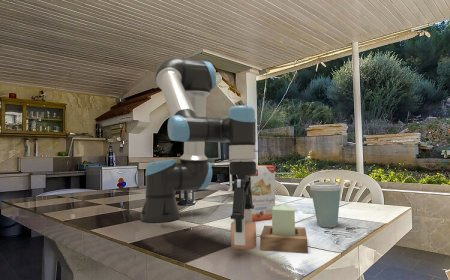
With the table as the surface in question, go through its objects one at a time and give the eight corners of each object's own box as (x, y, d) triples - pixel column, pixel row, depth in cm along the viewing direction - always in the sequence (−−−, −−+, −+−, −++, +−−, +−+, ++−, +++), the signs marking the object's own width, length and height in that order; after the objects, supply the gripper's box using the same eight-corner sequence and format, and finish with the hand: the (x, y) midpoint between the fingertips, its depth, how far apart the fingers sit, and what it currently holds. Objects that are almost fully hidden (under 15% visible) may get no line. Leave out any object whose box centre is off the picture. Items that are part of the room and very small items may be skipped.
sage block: (272, 239, 78) (272, 209, 79) (273, 233, 84) (273, 206, 84) (295, 240, 77) (294, 210, 77) (294, 234, 83) (294, 206, 83)
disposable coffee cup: (339, 230, 94) (337, 184, 95) (306, 226, 100) (305, 183, 101) (345, 224, 103) (344, 182, 104) (315, 220, 109) (314, 180, 110)
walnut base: (260, 249, 76) (260, 236, 76) (264, 237, 87) (264, 225, 88) (307, 253, 73) (307, 239, 73) (305, 239, 85) (305, 227, 85)
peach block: (228, 248, 77) (228, 226, 77) (233, 241, 84) (233, 220, 84) (254, 250, 76) (254, 227, 76) (257, 242, 82) (257, 221, 83)
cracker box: (246, 223, 106) (245, 166, 107) (237, 219, 111) (237, 165, 112) (276, 218, 112) (275, 165, 113) (267, 216, 118) (266, 165, 119)
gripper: (249, 161, 68) (251, 252, 67) (260, 160, 92) (262, 227, 91) (218, 161, 70) (220, 250, 68) (237, 160, 94) (238, 226, 93)
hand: (244, 237), depth 80 cm, fingers open, 13 cm apart
